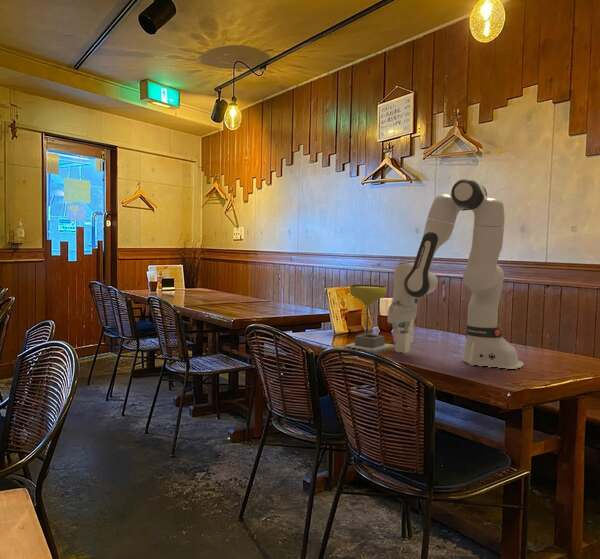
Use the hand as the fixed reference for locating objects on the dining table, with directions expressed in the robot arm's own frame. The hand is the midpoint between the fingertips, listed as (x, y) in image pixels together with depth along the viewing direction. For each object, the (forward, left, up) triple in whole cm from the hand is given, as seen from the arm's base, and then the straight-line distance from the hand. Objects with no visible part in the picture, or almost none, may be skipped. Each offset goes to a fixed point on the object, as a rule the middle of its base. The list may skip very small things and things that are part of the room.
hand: (401, 332), depth 212 cm
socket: (+14, +2, -8) cm, 17 cm away
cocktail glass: (+30, -22, -9) cm, 38 cm away
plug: (-1, 0, -8) cm, 8 cm away
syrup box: (+7, -18, -9) cm, 21 cm away
